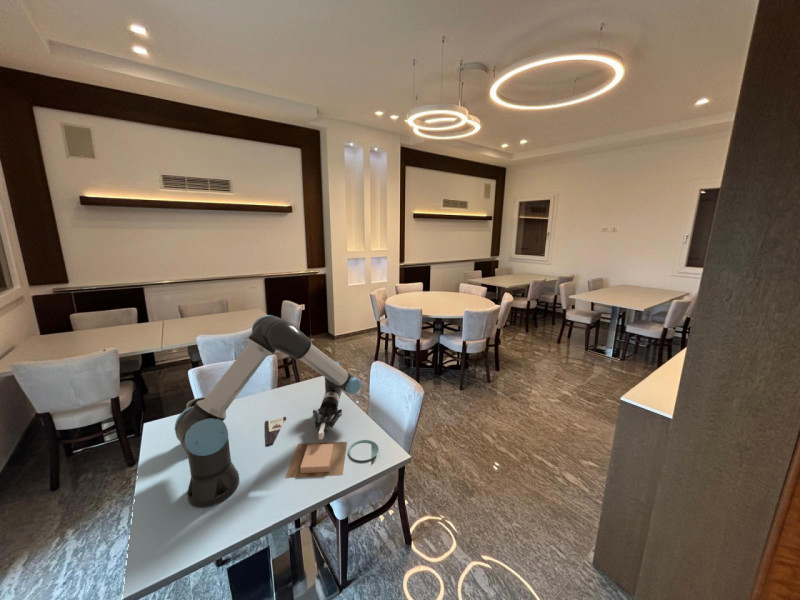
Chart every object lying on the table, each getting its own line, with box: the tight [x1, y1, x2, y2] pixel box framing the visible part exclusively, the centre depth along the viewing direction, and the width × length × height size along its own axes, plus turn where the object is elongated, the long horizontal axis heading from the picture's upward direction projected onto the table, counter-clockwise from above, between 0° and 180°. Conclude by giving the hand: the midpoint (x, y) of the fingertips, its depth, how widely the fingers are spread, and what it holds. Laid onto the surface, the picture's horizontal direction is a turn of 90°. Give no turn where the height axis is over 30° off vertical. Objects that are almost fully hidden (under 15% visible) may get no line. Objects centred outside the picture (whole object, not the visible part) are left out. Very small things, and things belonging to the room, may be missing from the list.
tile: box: [300, 444, 334, 473], centre depth 117 cm, size 10×3×12 cm
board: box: [285, 441, 348, 479], centre depth 119 cm, size 20×18×1 cm
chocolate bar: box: [264, 416, 287, 447], centre depth 137 cm, size 9×1×18 cm
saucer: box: [347, 439, 380, 462], centre depth 123 cm, size 12×12×2 cm
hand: (320, 436), depth 121 cm, fingers closed
